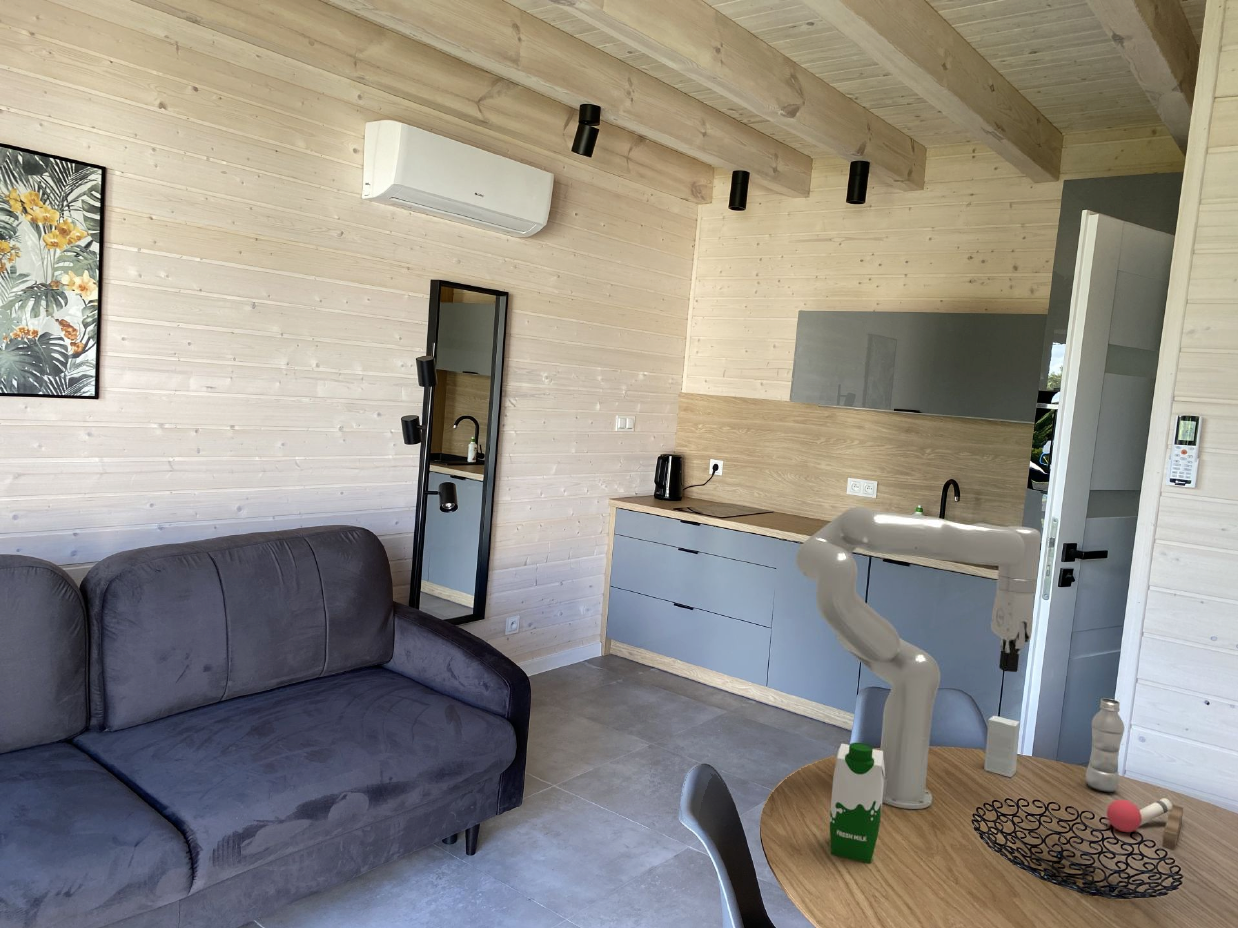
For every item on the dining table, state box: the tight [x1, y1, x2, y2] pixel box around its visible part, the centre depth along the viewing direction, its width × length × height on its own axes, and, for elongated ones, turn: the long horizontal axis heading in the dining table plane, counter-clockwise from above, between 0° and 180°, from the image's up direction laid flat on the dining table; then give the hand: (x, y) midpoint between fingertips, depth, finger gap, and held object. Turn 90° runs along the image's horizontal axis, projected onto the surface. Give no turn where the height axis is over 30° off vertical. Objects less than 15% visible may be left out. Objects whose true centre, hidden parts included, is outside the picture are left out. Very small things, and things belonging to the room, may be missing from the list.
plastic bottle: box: [1085, 697, 1125, 793], centre depth 196 cm, size 6×7×20 cm
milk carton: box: [829, 742, 885, 864], centre depth 161 cm, size 9×9×20 cm
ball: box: [1106, 799, 1142, 833], centre depth 177 cm, size 6×6×6 cm
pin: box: [1139, 797, 1173, 827], centre depth 180 cm, size 2×2×9 cm
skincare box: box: [983, 715, 1021, 778], centre depth 203 cm, size 6×4×12 cm
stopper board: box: [1162, 804, 1184, 851], centre depth 177 cm, size 16×2×3 cm, turn 143°
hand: (1008, 670), depth 189 cm, fingers closed
